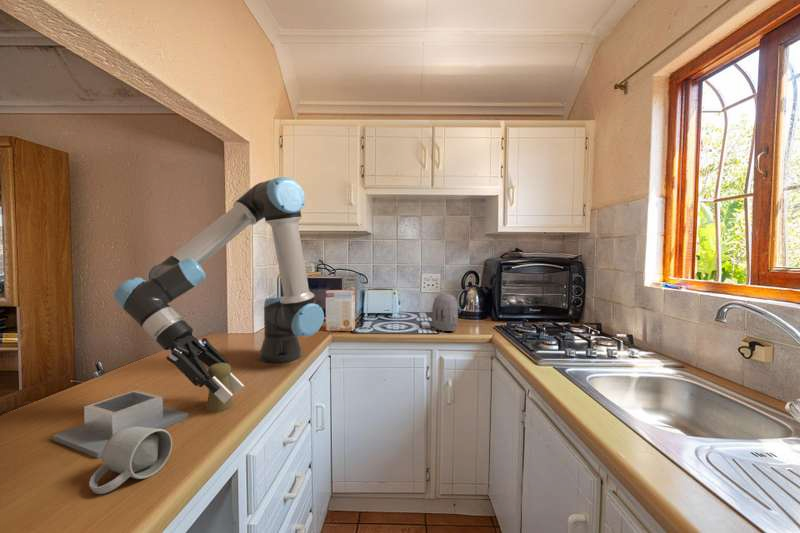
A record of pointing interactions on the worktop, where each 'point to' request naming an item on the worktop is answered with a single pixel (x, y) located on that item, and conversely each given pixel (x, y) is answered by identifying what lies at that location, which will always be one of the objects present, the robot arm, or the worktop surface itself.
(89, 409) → the metal collar
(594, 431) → the worktop surface
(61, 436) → the base plate
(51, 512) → the worktop surface
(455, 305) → the small grey backpack
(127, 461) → the ceramic mug
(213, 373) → the cork
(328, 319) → the cracker box
